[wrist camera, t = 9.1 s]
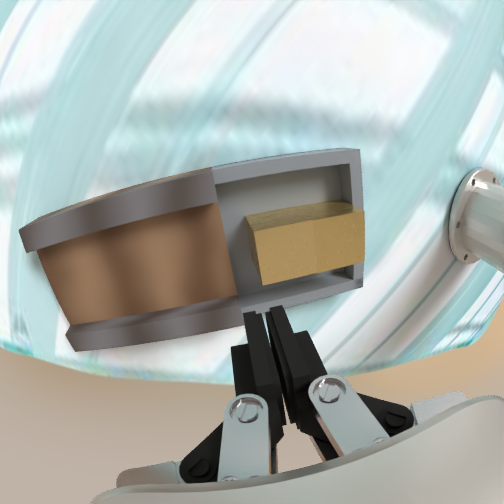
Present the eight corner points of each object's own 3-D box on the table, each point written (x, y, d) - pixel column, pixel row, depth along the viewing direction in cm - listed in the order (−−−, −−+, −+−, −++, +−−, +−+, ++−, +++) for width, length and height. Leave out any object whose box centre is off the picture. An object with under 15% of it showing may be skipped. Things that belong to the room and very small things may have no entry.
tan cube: (339, 198, 22) (364, 210, 18) (341, 243, 24) (364, 261, 20) (294, 206, 22) (313, 220, 18) (299, 252, 23) (316, 273, 20)
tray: (344, 147, 21) (359, 149, 19) (350, 274, 26) (362, 286, 24) (211, 167, 20) (212, 170, 18) (239, 301, 25) (242, 317, 23)
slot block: (211, 167, 20) (212, 171, 17) (239, 301, 25) (244, 324, 22) (38, 217, 19) (18, 229, 15) (85, 329, 23) (75, 351, 20)
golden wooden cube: (294, 206, 22) (312, 219, 18) (299, 251, 23) (316, 272, 20) (245, 215, 21) (253, 231, 18) (253, 262, 23) (262, 285, 19)
